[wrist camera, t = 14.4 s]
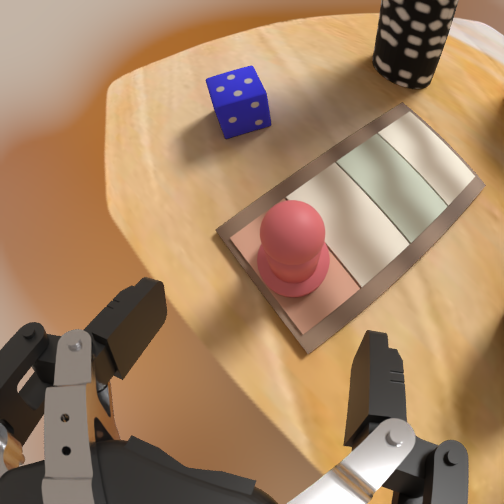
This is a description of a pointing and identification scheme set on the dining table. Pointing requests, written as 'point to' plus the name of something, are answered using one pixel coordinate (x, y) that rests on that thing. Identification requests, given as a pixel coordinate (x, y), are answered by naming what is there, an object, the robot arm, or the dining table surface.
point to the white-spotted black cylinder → (412, 39)
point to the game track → (362, 217)
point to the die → (239, 101)
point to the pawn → (293, 249)
